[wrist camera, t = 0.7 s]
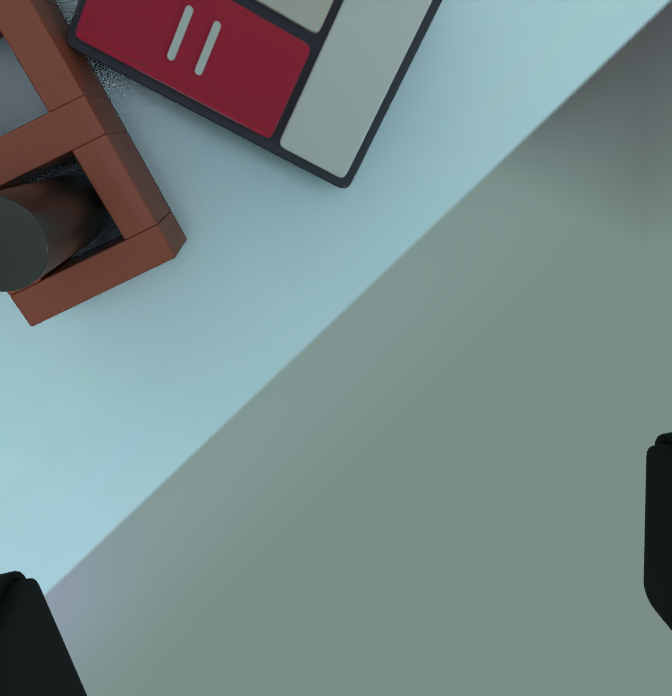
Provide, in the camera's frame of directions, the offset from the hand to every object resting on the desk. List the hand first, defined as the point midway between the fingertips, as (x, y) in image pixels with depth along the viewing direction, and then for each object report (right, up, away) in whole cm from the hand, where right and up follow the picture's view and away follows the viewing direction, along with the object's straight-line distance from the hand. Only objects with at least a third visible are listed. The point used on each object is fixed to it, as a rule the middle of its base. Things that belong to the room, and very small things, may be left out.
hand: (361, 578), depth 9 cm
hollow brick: (-16, +14, +23) cm, 31 cm away
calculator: (-4, +21, +23) cm, 31 cm away
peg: (-14, +11, +24) cm, 31 cm away
